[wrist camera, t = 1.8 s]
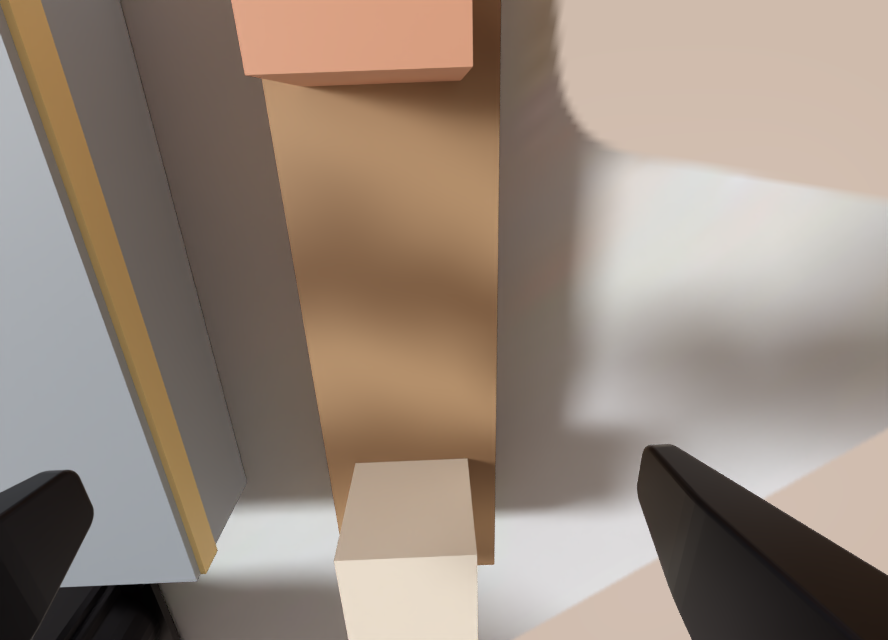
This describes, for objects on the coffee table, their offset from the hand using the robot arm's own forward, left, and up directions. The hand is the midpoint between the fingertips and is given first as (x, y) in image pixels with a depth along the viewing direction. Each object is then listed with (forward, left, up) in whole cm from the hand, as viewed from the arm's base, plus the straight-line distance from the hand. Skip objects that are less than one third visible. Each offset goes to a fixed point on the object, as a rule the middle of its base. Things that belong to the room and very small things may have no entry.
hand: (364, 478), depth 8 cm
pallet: (0, 0, -12) cm, 12 cm away
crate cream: (-8, 0, -7) cm, 11 cm away
